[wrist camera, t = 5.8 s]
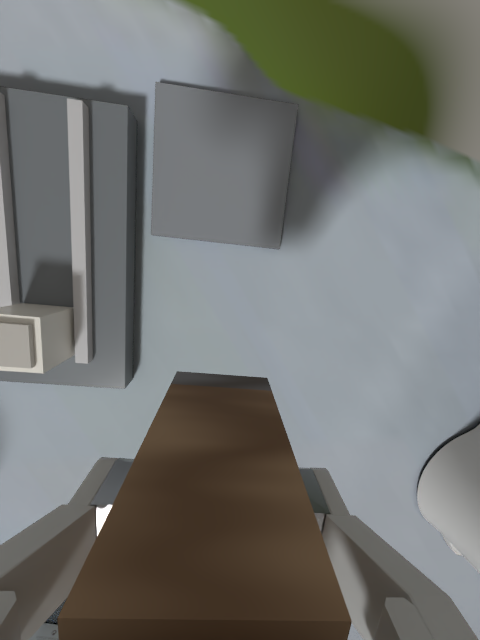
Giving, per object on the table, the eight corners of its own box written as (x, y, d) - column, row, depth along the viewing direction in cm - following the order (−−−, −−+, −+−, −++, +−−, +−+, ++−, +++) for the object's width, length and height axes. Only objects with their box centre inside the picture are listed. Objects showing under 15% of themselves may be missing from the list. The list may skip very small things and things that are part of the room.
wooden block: (267, 377, 11) (352, 622, 4) (257, 455, 12) (309, 790, 4) (177, 371, 11) (57, 618, 3) (173, 451, 12) (69, 797, 4)
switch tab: (74, 307, 21) (35, 318, 16) (76, 353, 22) (39, 375, 17) (22, 303, 20) (-31, 313, 16) (26, 350, 21) (-24, 371, 17)
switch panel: (137, 120, 20) (123, 98, 17) (132, 379, 25) (121, 393, 22) (-27, 97, 19) (-69, 69, 16) (0, 370, 24) (-30, 383, 21)
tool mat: (296, 108, 21) (298, 104, 20) (278, 249, 23) (279, 248, 22) (157, 87, 20) (155, 81, 19) (153, 235, 22) (150, 234, 21)
